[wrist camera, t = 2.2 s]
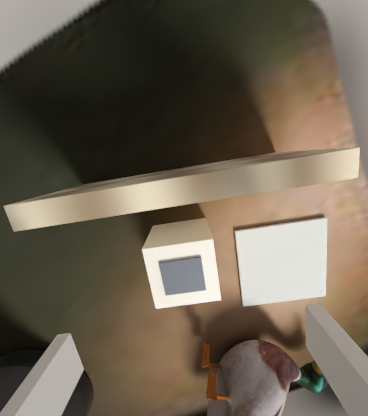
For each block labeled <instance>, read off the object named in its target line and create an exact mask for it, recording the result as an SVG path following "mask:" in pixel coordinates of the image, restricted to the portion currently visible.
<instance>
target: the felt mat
mask: <svg viewBox="0 0 368 416" xmlns="http://www.w3.org/2000/svg"><path fill="white" fill-rule="evenodd" d="M234 231H235V240H236V250H237V259H238V269H239V278H240V288H241V297H242V305H243V307H245V306H252V305H260V304H268V303H275V302H283V301H291V300H298V299H306V298H314V297H322V296H326V259H327V218H326V217H321V218H315V219H308V220H301V221H294V222H288V223H281V224H274V225H268V226H261V227H254V228H247V229H241V230H234Z"/></svg>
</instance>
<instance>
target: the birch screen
mask: <svg viewBox="0 0 368 416" xmlns="http://www.w3.org/2000/svg"><path fill="white" fill-rule="evenodd" d="M359 152H360V148H343V149H326V150H308V151H290V152H275V153H269V154H263V155H257V156H251V157H245V158H238V159H232V160H226V161H220V162H214V163H208V164H202V165H196V166H190V167H184V168H178V169H172V170H166V171H160V172H154V173H148V174H142V175H136V176H130V177H124V178H118V179H112V180H106V181H100V182H94V183H88V184H84V185H80V186H77V187H73V188H69V189H65V190H62V191H58V192H54V193H50V194H47V195H43V196H39V197H35V198H32V199H28V200H24V201H20V202H17V203H13V204H9V205H5V206H4V209H5V211H6V214H7V216H8V219H9V221H10V224H11V226H12V229H13V231H14V232H15V231H21V230H28V229H34V228H40V227H47V226H53V225H60V224H66V223H72V222H79V221H85V220H91V219H98V218H104V217H111V216H117V215H123V214H130V213H136V212H142V211H149V210H155V209H161V208H168V207H174V206H181V205H187V204H193V203H200V202H206V201H212V200H219V199H225V198H232V197H238V196H244V195H251V194H257V193H263V192H270V191H276V190H282V189H289V188H295V187H302V186H308V185H314V184H321V183H327V182H333V181H340V180H346V179H353V178H358V169H359Z"/></svg>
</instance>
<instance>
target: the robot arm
mask: <svg viewBox="0 0 368 416" xmlns="http://www.w3.org/2000/svg"><path fill="white" fill-rule="evenodd" d="M306 347H307V349H308V350H309V352H310V354H311V355H312V357H313V358H314V360H315V362H316V363H317V365H318V367H319V368H320V370H321V371H322V373H323V375H324V376H325V378H326V379H327V381H328V383H329V384H330V386H331V388H332V389H333V391H334V392H335V394H336V395H337V397H338V399H339V400H340V402H341V403H342V405H343V407H344V409H345V410H346V412H347V413H348V415H349V416H368V357H367V355H366V354H365V353H364V352H363V351H362V350H361V349H360V348H359V346H358V345H357V344H356V343H355V342H354V341H353V340H352V339H351V338H350V336H349V335H348V334H347V333H346V332H345V331H344V330H343V329H342V327H341V326H340V325H339V324H338V323H337V322H336V321H335V320H334V318H333V317H332V316H331V315H330V314H329V313H328V312H327V311H326V310H325V308H324V307H323V306H322V305H321V304H315V305H306ZM83 370H84V368H83V365H82V362H81V360H80V357H79V355H78V352H77V349H76V347H75V344H74V342H73V339H72V336H71V334H70V333H66V334H58V335H57V336H56V337H55V339H54V340H53V341H52V343H51V344H50V345H49V347H48V348H47V350H46V351H44V350H37V349H23V350H17V351H13V352H10V353H7V354H5V355H3V356H1V357H0V416H87V415H88V413H89V410H90V407H91V405H92V401H93V389H92V385H91V383H90V381H89V379H88V377H87V376H86V374H85V373H84V372H83Z"/></svg>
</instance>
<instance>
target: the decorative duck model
mask: <svg viewBox="0 0 368 416" xmlns="http://www.w3.org/2000/svg"><path fill="white" fill-rule="evenodd" d="M209 349H210V345H207V344H206V343H205V340H204V343H203V350H202V360H201V367H202V368H206V367H210V369H209V376H208V385H207V392H206V393H207V399H208V400H209V405H208V412H207V416H281V414H282V411H283V408H284V405H285V402H286V399H287V396H288V390H289V385H290V383H291V382H292V381H293V382H296V383H298V384H299V385H301V386H303V387H304V388H306V389H308V390H309V391H311V392H315V393H317V392H320V391H321V390H322V389H324V388H325V387H326V385H327V382H328V381H327V379H326V378H325V376H324V375H323V373H322V371H321V370H320V368H319V367H318V365H317V363H316V362H315V360H314V361H313V362H312V363H308V364H306V365H304V366H303V367H301V368H299V367H298V366H297V365H296V364H295V363H294V361H293V360H292V359H291V358H290V356H289V355H288V354H287V353H285V352H284V351H283V350H282V349H280V348H279V347H277V346H276V345H274V344H271V343H269V342H265V341H261V340H249V341H245V342H242V343H239V344H237V345H235V346H234V347H233V348H231V349H230V350H229V351H228V352H227V353H226V354H225V355H224V356H223V357H222V358H221V360H220V362H219V363H210V358H209ZM211 367H215V368H216V371H215V373H214V372H213V371H212V369H211Z"/></svg>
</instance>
